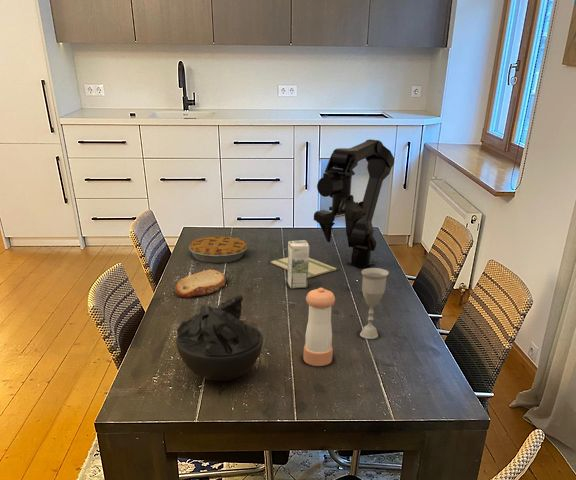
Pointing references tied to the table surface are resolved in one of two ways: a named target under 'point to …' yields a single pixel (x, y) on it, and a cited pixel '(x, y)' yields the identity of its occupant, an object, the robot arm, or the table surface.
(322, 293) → the pepper shaker
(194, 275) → the bread slice
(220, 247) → the pie
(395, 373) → the table surface
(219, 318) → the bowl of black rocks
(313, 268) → the towel
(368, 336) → the chalice
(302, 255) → the syrup box
